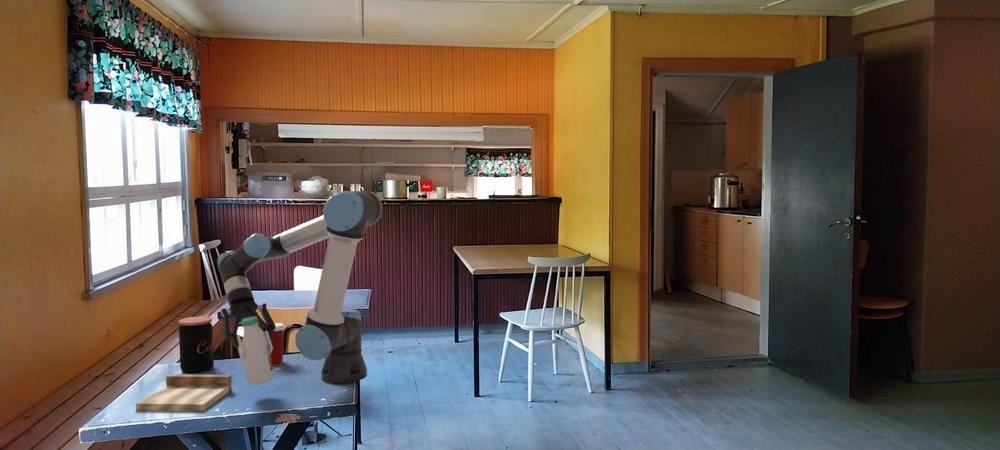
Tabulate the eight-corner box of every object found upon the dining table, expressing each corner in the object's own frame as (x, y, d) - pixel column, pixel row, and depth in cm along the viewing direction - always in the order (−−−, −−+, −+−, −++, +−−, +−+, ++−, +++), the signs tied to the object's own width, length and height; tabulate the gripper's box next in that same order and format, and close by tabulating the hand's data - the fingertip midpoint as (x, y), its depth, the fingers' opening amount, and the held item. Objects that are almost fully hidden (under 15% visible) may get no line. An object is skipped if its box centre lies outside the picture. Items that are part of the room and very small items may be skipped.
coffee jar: (200, 375, 219) (198, 323, 218) (173, 373, 221) (171, 322, 220) (220, 366, 230) (218, 316, 228) (194, 364, 232) (192, 315, 231)
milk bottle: (269, 383, 194) (257, 321, 190) (244, 386, 194) (231, 324, 190) (278, 373, 202) (266, 312, 198) (254, 375, 202) (242, 315, 198)
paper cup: (290, 361, 235) (289, 324, 234) (274, 367, 229) (273, 328, 227) (274, 359, 239) (273, 322, 238) (258, 364, 232) (257, 326, 231)
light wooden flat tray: (231, 390, 204) (231, 374, 203) (203, 411, 186) (202, 394, 186) (170, 389, 205) (169, 374, 204) (136, 410, 187) (135, 393, 186)
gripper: (269, 296, 215) (287, 353, 203) (203, 304, 202) (219, 366, 191) (273, 282, 210) (293, 340, 199) (206, 290, 198) (223, 352, 186)
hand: (256, 353), depth 195 cm, fingers closed on milk bottle, 8 cm apart
